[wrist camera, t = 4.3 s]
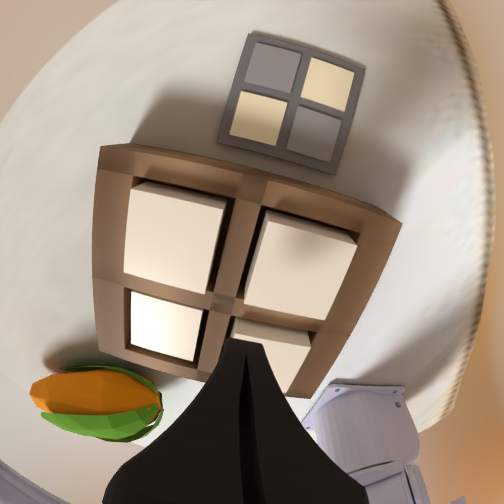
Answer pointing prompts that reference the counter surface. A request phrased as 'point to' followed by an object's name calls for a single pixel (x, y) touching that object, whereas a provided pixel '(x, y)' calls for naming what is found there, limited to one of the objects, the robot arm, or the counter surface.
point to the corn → (100, 402)
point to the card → (291, 103)
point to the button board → (228, 257)
